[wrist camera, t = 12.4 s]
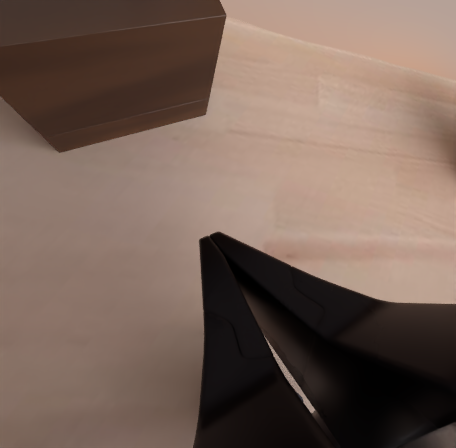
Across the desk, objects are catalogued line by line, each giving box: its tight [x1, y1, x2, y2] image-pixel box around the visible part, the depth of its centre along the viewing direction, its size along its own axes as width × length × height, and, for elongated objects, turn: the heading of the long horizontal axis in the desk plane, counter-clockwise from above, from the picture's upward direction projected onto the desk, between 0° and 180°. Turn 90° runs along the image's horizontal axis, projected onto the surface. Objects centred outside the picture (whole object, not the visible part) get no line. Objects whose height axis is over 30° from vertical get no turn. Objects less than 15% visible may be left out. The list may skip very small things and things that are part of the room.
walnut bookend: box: [0, 0, 226, 152], centre depth 18 cm, size 12×14×10 cm
